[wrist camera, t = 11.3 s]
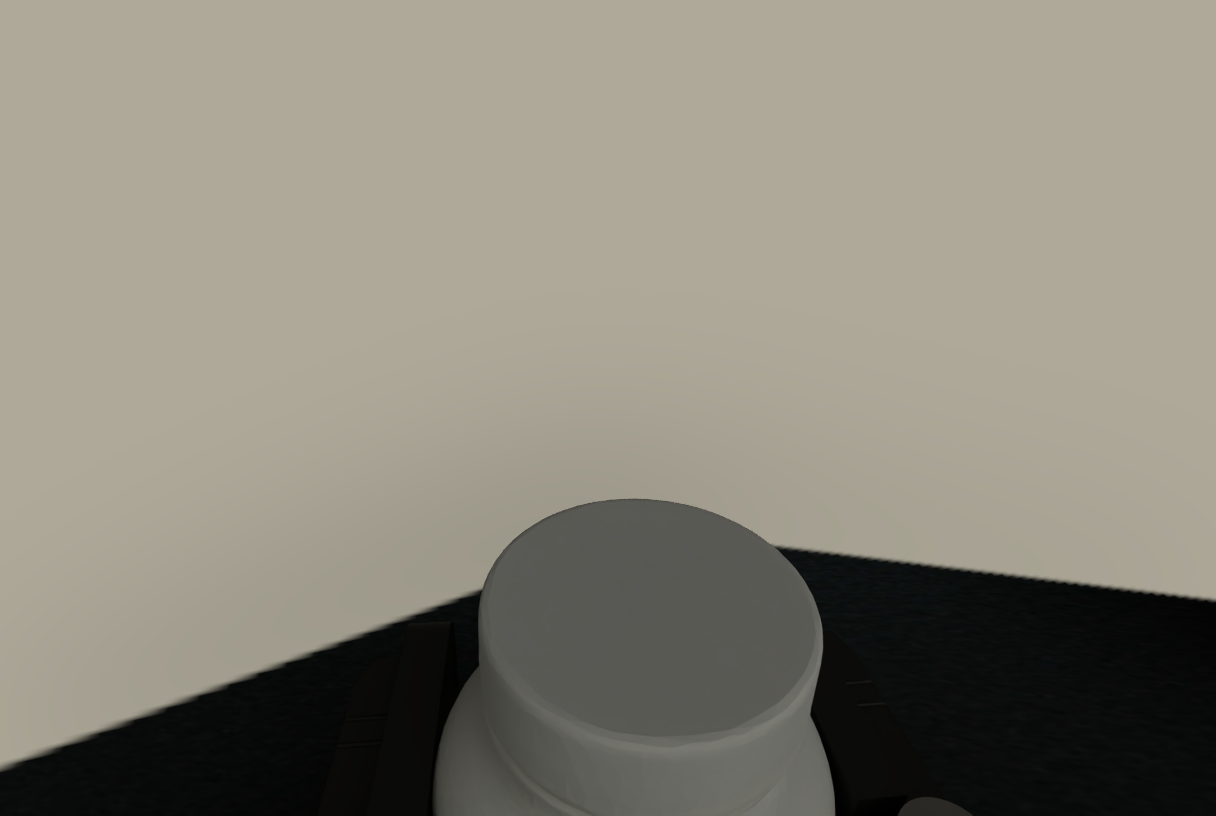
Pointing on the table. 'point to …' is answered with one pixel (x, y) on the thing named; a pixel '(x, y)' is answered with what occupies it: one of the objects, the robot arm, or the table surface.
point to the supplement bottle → (639, 674)
